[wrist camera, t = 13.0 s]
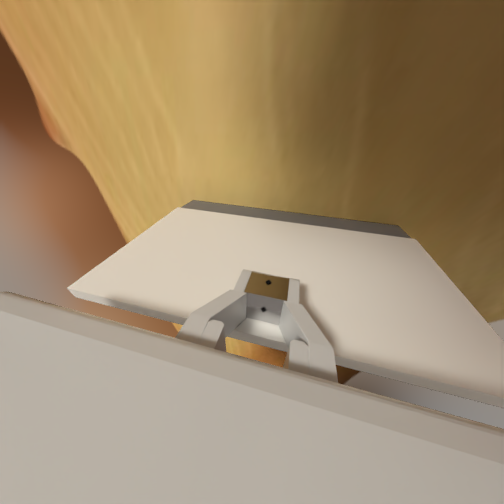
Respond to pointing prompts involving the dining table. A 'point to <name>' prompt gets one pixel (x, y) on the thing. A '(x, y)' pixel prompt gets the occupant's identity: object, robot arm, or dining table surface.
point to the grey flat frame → (299, 218)
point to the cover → (314, 295)
